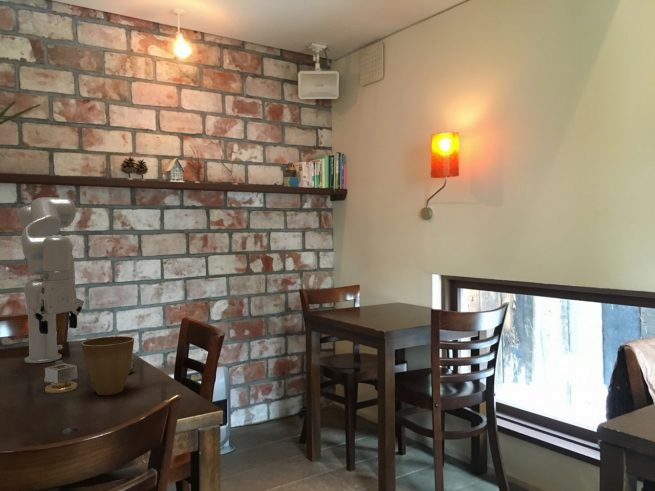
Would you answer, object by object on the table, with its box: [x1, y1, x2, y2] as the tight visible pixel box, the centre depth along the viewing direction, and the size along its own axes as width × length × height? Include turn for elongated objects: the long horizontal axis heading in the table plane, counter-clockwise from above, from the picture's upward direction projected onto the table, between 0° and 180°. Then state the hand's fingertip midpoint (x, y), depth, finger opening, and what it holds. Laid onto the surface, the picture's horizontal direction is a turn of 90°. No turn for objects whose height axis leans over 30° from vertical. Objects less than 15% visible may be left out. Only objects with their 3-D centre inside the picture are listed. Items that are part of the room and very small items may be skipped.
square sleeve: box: [44, 362, 78, 383], centre depth 166 cm, size 6×6×4 cm
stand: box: [43, 359, 74, 384], centre depth 177 cm, size 9×9×6 cm
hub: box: [44, 380, 78, 394], centre depth 166 cm, size 9×9×6 cm
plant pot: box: [81, 335, 135, 396], centre depth 162 cm, size 15×15×16 cm
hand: (58, 330), depth 166 cm, fingers open, 9 cm apart
